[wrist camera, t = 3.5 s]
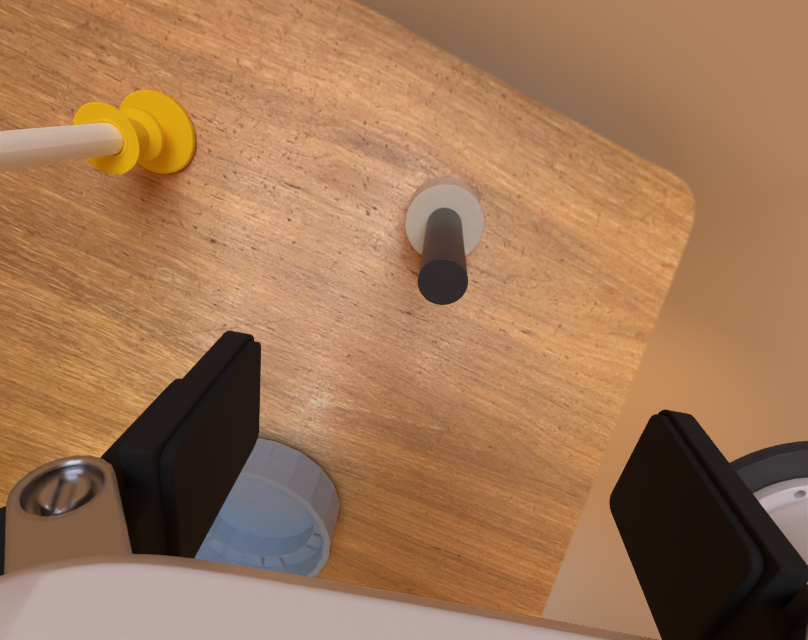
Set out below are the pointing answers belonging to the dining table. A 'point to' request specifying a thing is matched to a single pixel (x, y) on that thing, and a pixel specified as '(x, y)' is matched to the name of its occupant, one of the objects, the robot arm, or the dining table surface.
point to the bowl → (276, 514)
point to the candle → (109, 137)
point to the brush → (444, 236)
